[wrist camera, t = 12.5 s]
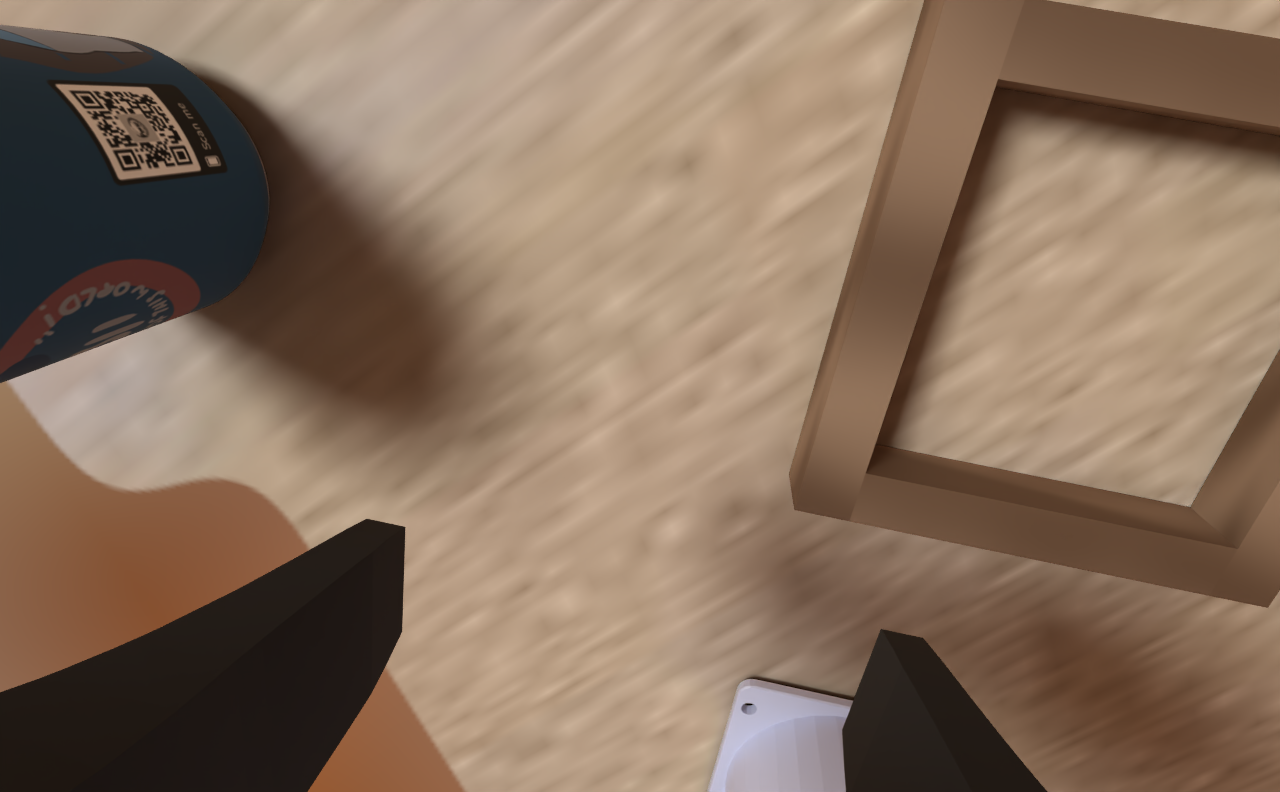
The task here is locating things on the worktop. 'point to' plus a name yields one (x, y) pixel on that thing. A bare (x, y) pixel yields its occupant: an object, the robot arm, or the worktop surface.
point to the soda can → (114, 194)
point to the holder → (905, 260)
